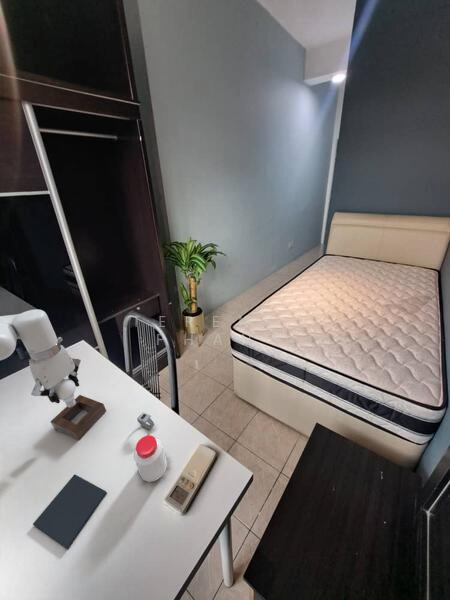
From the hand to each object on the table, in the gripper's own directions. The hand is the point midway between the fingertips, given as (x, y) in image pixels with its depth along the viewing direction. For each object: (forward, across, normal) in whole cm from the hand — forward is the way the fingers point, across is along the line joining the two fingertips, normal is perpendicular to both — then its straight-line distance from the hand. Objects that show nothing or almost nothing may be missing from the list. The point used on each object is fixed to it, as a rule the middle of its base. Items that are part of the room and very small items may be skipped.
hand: (66, 392), depth 80 cm
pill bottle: (+14, +4, +34) cm, 37 cm away
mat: (+14, +20, +20) cm, 32 cm away
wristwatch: (+14, -6, +24) cm, 29 cm away
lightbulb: (+6, 0, 0) cm, 6 cm away
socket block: (+14, 0, 0) cm, 14 cm away
